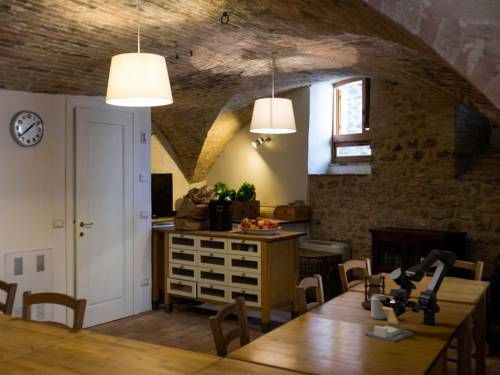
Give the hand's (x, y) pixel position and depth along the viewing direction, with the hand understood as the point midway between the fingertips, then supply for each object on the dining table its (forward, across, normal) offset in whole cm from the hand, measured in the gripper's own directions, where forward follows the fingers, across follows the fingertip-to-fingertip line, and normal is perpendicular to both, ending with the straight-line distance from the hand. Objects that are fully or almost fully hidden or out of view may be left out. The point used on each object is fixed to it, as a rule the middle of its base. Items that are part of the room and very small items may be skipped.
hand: (393, 319), depth 253 cm
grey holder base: (+7, 0, +2) cm, 7 cm away
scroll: (-20, -33, +31) cm, 50 cm away
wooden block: (+1, 0, +3) cm, 3 cm away
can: (-8, -20, +19) cm, 29 cm away
